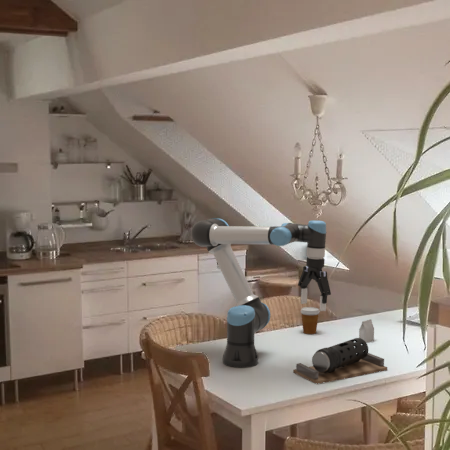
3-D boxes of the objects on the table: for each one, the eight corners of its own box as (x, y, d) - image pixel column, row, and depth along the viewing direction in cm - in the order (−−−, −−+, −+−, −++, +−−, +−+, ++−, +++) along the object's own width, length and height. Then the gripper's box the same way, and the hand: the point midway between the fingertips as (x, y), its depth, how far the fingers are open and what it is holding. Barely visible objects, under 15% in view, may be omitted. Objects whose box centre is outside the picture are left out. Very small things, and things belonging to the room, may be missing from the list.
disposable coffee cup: (297, 334, 339) (298, 310, 337) (302, 329, 347) (303, 306, 346) (316, 336, 335) (317, 311, 334) (321, 331, 344) (321, 307, 343)
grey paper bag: (373, 340, 328) (374, 320, 327) (365, 343, 323) (366, 322, 322) (367, 338, 331) (367, 318, 330) (359, 341, 326) (359, 320, 325)
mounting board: (317, 384, 266) (317, 373, 265) (293, 372, 280) (293, 362, 279) (387, 370, 283) (387, 360, 283) (361, 359, 297) (361, 350, 297)
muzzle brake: (368, 363, 288) (369, 339, 287) (329, 378, 268) (330, 353, 267) (349, 358, 295) (350, 335, 294) (309, 373, 275) (310, 348, 274)
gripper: (341, 262, 278) (338, 313, 281) (305, 252, 300) (303, 299, 303) (326, 263, 275) (323, 314, 277) (291, 253, 296) (289, 301, 299)
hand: (313, 307), depth 290 cm, fingers open, 13 cm apart
